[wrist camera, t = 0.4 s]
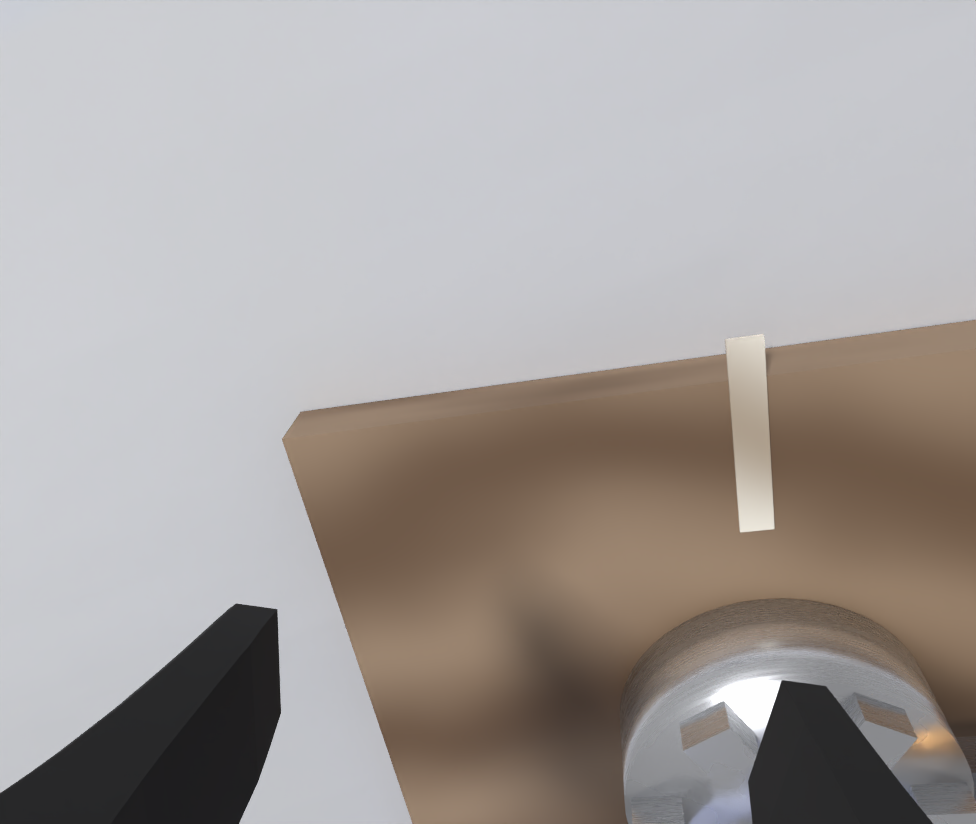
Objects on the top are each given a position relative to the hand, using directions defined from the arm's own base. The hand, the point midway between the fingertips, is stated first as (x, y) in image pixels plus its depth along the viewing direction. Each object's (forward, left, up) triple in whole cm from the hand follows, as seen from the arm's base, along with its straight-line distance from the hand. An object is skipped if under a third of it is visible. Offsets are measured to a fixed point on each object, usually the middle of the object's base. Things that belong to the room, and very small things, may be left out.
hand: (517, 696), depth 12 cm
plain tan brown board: (-9, -5, -10) cm, 14 cm away
